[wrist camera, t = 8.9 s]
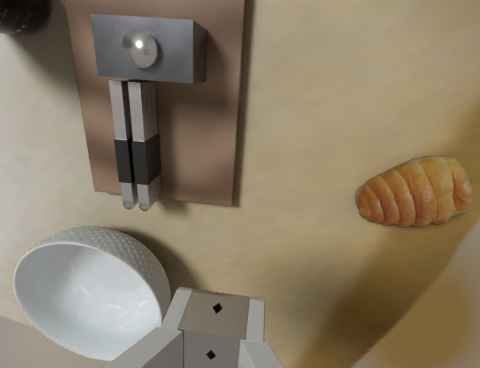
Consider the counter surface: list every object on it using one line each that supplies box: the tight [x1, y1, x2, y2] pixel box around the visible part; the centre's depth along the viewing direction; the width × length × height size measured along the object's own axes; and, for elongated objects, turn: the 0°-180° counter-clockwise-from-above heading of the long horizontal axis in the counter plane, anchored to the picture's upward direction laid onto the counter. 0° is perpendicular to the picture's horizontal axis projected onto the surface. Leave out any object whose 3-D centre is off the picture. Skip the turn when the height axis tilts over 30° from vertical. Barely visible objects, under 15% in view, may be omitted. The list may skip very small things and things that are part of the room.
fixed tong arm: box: [109, 79, 139, 209], centre depth 25 cm, size 12×1×3 cm, turn 176°
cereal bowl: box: [13, 226, 171, 361], centre depth 32 cm, size 17×17×7 cm
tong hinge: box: [90, 14, 207, 84], centre depth 21 cm, size 4×7×5 cm, turn 86°
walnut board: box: [64, 0, 246, 206], centre depth 25 cm, size 20×15×2 cm
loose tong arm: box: [128, 81, 161, 211], centre depth 25 cm, size 12×1×3 cm, turn 176°
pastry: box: [355, 156, 472, 227], centre depth 26 cm, size 9×7×4 cm
